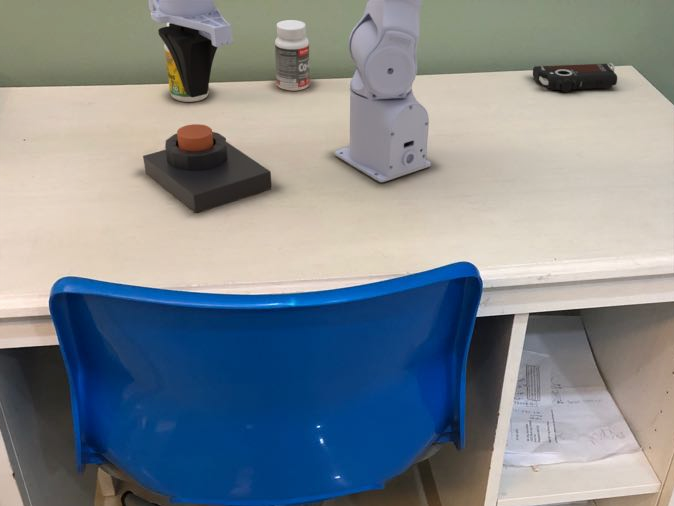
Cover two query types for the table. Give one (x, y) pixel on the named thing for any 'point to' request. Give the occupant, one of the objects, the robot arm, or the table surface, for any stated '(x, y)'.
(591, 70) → the camera
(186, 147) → the orange push button
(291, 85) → the pill bottle
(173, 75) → the supplement bottle
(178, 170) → the block
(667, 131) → the table surface
